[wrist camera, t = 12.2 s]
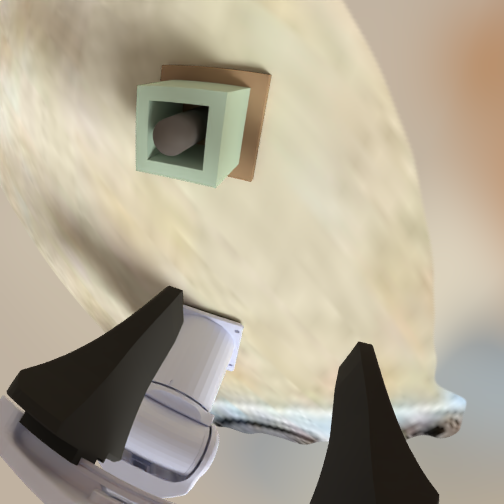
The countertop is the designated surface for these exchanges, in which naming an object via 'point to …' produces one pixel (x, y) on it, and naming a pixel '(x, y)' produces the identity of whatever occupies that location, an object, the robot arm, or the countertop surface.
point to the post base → (252, 108)
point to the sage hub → (217, 135)
